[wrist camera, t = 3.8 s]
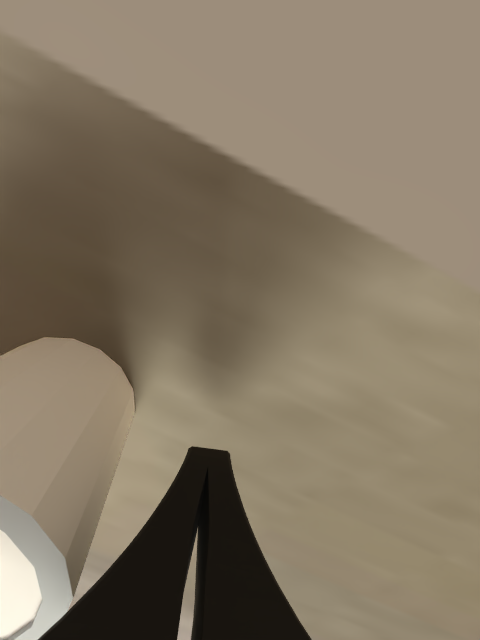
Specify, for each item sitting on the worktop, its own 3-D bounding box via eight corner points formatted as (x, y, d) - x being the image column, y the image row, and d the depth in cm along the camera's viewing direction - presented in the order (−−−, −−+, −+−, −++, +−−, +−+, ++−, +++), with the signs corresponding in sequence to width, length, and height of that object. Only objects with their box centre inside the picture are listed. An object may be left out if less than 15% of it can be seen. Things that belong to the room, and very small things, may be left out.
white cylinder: (-20, 303, 12) (-313, 422, 6) (162, 343, 13) (82, 494, 6) (-16, 446, 15) (-222, 647, 8) (138, 475, 15) (61, 685, 9)
